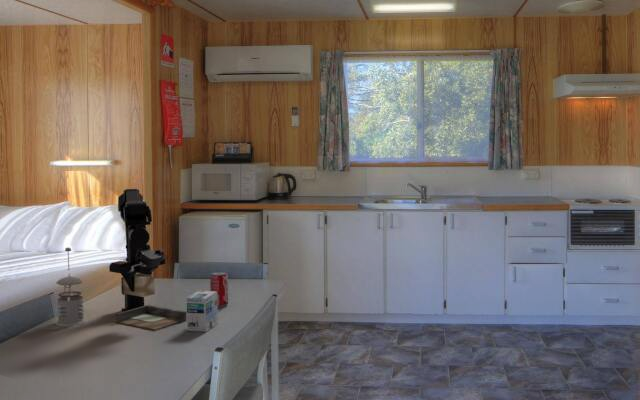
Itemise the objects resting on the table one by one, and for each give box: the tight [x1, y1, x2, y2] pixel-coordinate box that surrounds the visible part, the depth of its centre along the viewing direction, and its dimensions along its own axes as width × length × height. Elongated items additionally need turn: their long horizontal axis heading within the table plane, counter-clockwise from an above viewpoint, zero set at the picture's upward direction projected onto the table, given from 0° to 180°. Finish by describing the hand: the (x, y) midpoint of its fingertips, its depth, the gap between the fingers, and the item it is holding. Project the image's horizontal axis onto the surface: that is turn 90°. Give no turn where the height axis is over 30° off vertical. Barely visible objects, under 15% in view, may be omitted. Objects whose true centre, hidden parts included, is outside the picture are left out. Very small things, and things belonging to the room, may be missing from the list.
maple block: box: [123, 273, 156, 298], centre depth 218 cm, size 5×9×6 cm, turn 57°
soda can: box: [209, 271, 229, 308], centre depth 245 cm, size 6×6×12 cm
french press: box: [55, 247, 87, 328], centre depth 224 cm, size 10×12×25 cm
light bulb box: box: [186, 290, 219, 333], centre depth 217 cm, size 11×7×11 cm, turn 168°
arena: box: [115, 304, 187, 332], centre depth 225 cm, size 18×14×3 cm
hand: (138, 289), depth 219 cm, fingers closed on maple block, 5 cm apart
